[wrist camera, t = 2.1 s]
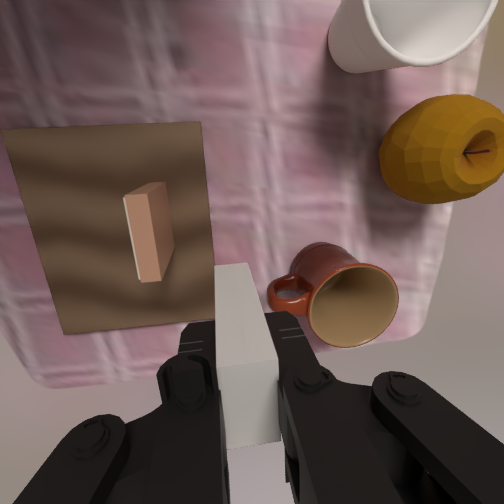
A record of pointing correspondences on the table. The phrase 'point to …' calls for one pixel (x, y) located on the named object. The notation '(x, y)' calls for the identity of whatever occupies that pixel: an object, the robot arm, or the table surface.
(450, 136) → the apple
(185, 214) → the board
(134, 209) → the tile
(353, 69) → the cup
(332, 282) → the mug
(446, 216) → the table surface
